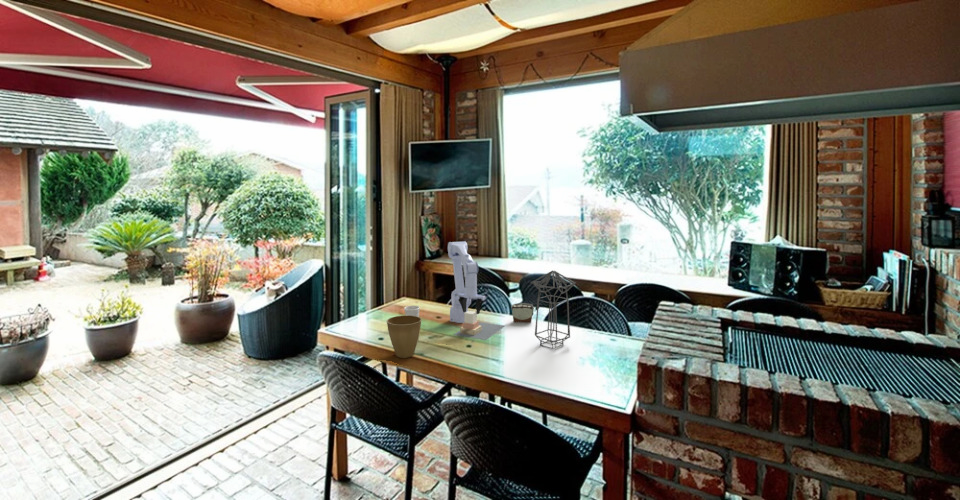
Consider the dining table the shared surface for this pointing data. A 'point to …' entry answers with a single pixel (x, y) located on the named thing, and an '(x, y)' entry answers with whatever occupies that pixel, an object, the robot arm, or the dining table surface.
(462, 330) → the bottom slab
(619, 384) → the dining table surface
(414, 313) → the dixie cup
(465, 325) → the middle block
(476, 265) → the robot arm
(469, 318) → the top block
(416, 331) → the plant pot
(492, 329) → the mat
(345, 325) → the dining table surface
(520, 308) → the food container
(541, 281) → the geometric lantern
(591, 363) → the dining table surface
